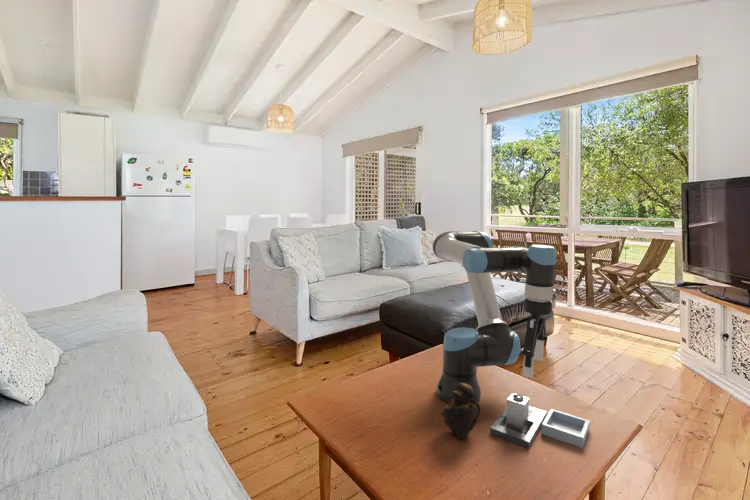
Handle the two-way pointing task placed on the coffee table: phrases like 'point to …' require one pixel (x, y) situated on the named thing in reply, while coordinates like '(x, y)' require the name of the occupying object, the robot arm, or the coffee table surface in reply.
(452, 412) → the sculpture
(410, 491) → the coffee table surface
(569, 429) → the tray
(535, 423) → the grey slotted plate
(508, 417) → the knob block
